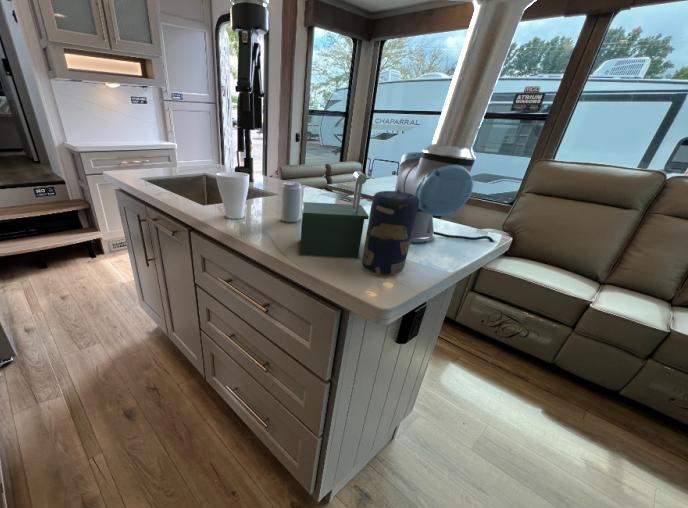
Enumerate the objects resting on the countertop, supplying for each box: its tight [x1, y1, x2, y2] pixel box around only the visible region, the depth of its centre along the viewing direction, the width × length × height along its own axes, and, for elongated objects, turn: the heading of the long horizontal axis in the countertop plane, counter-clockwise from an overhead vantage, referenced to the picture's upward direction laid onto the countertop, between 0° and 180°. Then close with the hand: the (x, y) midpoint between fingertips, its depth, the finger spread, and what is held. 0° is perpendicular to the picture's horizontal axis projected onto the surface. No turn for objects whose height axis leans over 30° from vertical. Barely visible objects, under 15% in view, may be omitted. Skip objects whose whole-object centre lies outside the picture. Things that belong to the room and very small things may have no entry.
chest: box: [299, 208, 365, 259], centre depth 81 cm, size 15×11×10 cm
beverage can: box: [280, 181, 303, 224], centre depth 103 cm, size 6×6×12 cm
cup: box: [215, 171, 250, 220], centre depth 104 cm, size 10×10×14 cm
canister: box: [361, 189, 419, 276], centre depth 69 cm, size 10×10×18 cm
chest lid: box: [301, 170, 370, 220], centre depth 77 cm, size 16×11×10 cm
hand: (252, 129), depth 73 cm, fingers open, 13 cm apart
